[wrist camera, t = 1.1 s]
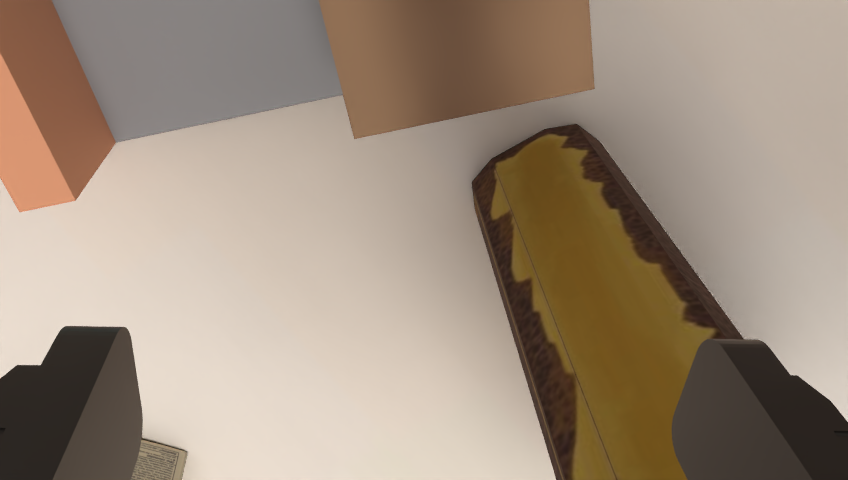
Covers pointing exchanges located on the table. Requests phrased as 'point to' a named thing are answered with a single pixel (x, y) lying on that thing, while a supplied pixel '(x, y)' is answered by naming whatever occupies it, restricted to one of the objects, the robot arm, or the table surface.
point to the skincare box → (159, 462)
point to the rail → (142, 77)
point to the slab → (454, 57)
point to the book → (593, 305)
